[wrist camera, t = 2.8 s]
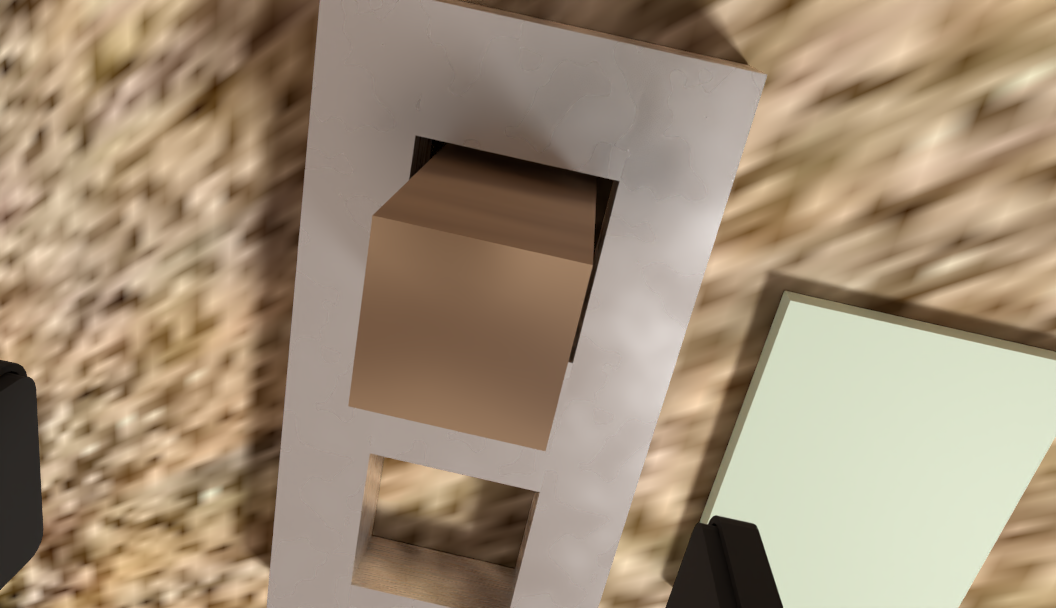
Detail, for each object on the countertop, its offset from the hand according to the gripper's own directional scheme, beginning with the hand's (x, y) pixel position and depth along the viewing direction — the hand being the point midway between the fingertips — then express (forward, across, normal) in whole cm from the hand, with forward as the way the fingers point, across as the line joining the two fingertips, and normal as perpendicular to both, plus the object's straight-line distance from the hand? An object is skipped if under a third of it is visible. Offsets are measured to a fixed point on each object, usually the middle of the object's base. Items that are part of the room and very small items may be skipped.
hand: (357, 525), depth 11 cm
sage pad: (+13, -14, +6) cm, 20 cm away
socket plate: (+14, -1, +4) cm, 14 cm away
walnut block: (+14, -1, 0) cm, 14 cm away
